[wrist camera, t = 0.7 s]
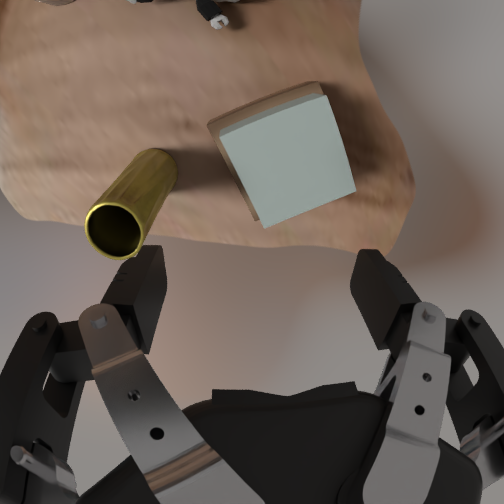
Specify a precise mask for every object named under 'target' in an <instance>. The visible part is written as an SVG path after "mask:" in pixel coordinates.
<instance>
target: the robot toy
mask: <svg viewBox="0 0 504 504" xmlns="http://www.w3.org/2000/svg"><path fill="white" fill-rule="evenodd" d="M127 1H130V3H133V4H135V3H136V2H140V3H144V2H152V1H153V0H127ZM214 1H215V2H223V1H228V2H237V1H240V0H196V4H197V10H198V11H199V12H200V13H201V15H202V16H203V17H204V18H205V19H206V20H207V21H209V20H210V21H211V26H212V27H214V28H215V29H221V28H223V27H222V26H221V25H220V24H219V23H218V22H220V21H221V22H222V23H223V24H224V26H227V25H228V23H229V20H228V18H227V17H226V16H224V15H221V13H222V10H221V9H220V8H219V7H218V6H217V5H216V4H215V2H214Z"/></svg>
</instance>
